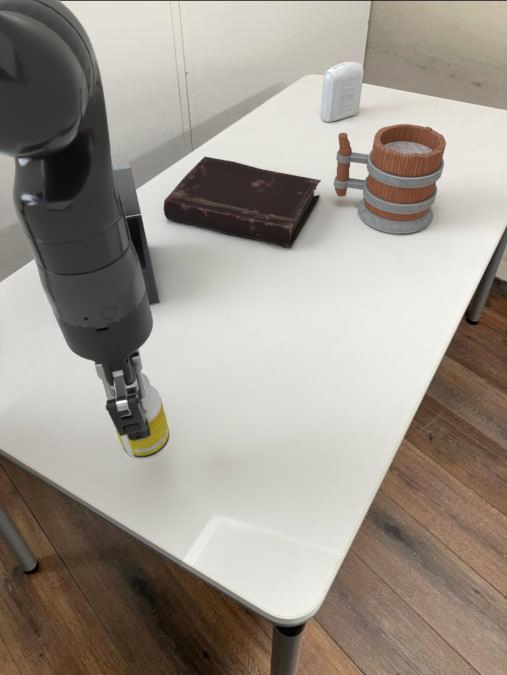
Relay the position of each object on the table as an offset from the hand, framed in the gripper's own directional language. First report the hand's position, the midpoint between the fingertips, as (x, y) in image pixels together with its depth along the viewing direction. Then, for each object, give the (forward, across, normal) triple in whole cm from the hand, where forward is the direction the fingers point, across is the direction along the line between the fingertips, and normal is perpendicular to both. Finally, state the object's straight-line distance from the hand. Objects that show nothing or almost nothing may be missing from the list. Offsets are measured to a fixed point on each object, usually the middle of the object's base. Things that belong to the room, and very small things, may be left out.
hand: (137, 411), depth 53 cm
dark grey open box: (+12, -37, -2) cm, 39 cm away
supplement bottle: (+6, 0, 0) cm, 6 cm away
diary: (+12, -51, +24) cm, 58 cm away
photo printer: (+12, -85, +57) cm, 103 cm away
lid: (-2, -40, -2) cm, 40 cm away
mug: (+12, -43, +49) cm, 66 cm away
